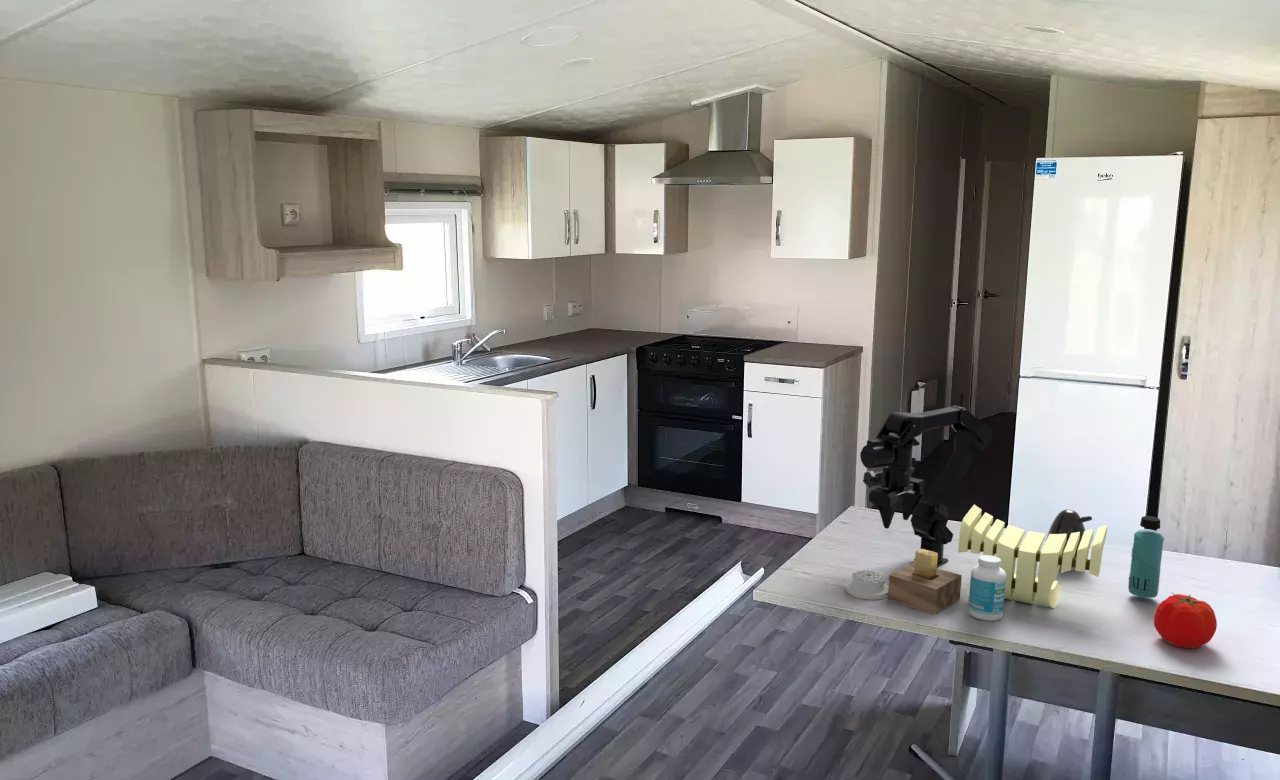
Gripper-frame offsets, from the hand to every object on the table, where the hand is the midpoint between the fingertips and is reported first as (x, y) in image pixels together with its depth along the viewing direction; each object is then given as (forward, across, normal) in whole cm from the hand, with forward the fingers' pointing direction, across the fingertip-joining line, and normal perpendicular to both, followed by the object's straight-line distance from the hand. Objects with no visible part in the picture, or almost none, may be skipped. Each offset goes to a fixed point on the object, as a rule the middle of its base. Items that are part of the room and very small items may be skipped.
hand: (895, 523), depth 243 cm
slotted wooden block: (+12, +12, +15) cm, 23 cm away
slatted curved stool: (+12, -8, +31) cm, 34 cm away
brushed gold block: (+10, +12, +15) cm, 22 cm away
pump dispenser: (+12, -33, +30) cm, 46 cm away
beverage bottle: (+12, -25, +51) cm, 58 cm away
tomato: (+12, -6, +65) cm, 66 cm away
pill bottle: (+12, +10, +29) cm, 33 cm away
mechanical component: (+12, +17, +3) cm, 22 cm away
